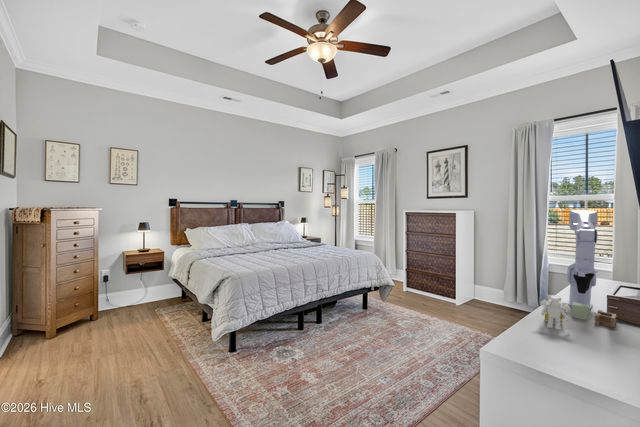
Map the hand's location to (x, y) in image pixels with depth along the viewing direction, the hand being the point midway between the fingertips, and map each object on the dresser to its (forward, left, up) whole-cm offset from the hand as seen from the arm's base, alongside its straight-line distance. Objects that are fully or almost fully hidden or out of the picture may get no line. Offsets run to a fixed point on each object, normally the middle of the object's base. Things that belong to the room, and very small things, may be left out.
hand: (583, 291), depth 127 cm
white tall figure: (+20, -6, -10) cm, 23 cm away
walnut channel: (+6, +2, -9) cm, 11 cm away
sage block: (+4, 0, -10) cm, 10 cm away
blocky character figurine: (+27, -4, -10) cm, 29 cm away
